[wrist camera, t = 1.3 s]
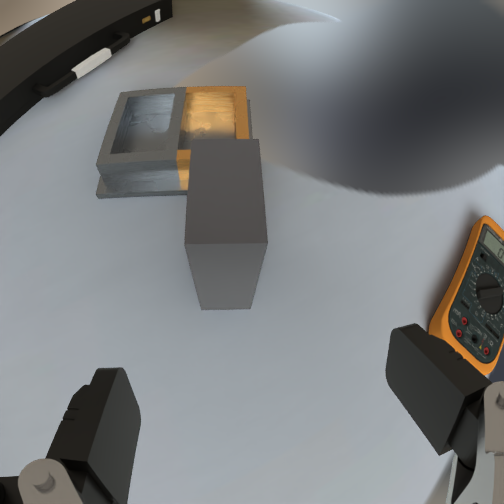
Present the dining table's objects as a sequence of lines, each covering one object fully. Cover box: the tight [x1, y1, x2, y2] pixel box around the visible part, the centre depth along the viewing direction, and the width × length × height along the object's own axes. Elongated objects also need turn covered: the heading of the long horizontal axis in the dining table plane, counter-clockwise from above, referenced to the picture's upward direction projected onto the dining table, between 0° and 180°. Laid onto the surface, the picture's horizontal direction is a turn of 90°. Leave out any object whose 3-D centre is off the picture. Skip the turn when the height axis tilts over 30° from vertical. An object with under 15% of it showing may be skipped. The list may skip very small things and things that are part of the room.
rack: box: [96, 86, 252, 199], centre depth 32 cm, size 14×16×4 cm
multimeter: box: [429, 215, 504, 375], centre depth 27 cm, size 9×18×3 cm, turn 139°
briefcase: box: [0, 0, 172, 136], centre depth 40 cm, size 45×6×30 cm
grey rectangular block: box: [185, 139, 268, 310], centre depth 22 cm, size 7×4×12 cm, turn 3°
